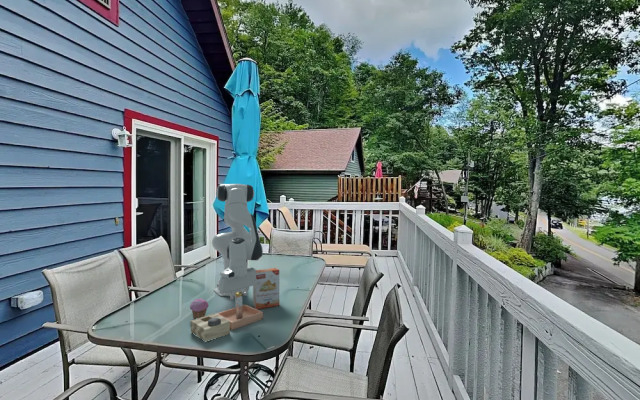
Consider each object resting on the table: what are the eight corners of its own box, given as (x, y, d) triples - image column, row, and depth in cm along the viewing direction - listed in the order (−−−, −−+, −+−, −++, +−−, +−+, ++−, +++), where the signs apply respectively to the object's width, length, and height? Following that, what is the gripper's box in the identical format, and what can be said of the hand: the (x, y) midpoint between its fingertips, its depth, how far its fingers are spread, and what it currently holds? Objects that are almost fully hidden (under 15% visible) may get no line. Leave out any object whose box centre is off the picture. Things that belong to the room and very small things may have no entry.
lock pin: (234, 317, 170) (233, 292, 169) (240, 315, 173) (239, 291, 172) (238, 319, 168) (237, 294, 167) (244, 317, 170) (243, 292, 169)
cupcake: (200, 313, 179) (200, 295, 178) (212, 316, 174) (211, 298, 174) (186, 319, 171) (186, 300, 170) (198, 322, 167) (197, 303, 166)
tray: (215, 320, 169) (215, 313, 169) (245, 310, 182) (245, 304, 182) (232, 329, 158) (232, 322, 158) (263, 318, 171) (262, 312, 171)
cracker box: (256, 310, 183) (255, 272, 182) (253, 306, 188) (252, 270, 187) (280, 305, 189) (279, 269, 188) (276, 302, 195) (275, 267, 194)
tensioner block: (191, 333, 155) (190, 317, 155) (214, 325, 164) (214, 310, 163) (205, 343, 145) (205, 326, 145) (229, 334, 154) (229, 318, 153)
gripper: (252, 265, 179) (252, 291, 179) (217, 273, 164) (217, 300, 165) (258, 267, 174) (259, 293, 175) (223, 275, 159) (224, 304, 160)
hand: (238, 297), depth 170 cm, fingers open, 6 cm apart
